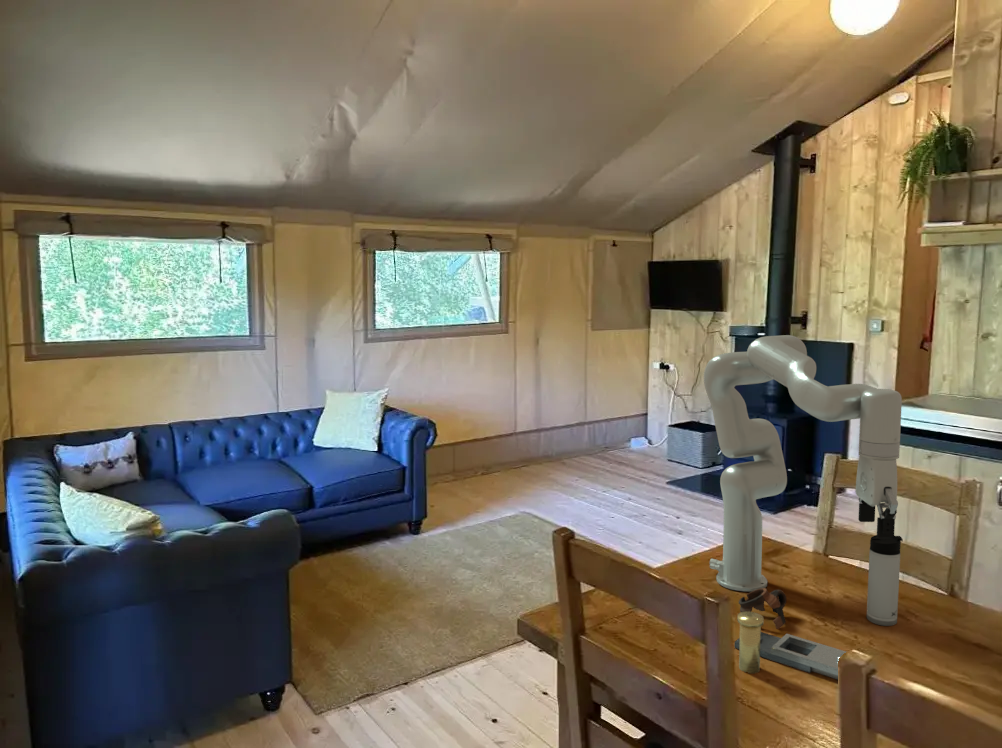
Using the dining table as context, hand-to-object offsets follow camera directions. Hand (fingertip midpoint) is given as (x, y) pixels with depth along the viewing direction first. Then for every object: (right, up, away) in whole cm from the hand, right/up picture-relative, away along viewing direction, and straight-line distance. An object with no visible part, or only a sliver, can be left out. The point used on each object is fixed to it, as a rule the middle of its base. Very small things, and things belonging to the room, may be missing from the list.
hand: (875, 528), depth 158 cm
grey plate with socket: (-17, -27, -1) cm, 32 cm away
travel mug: (+9, -24, +16) cm, 30 cm away
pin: (-28, -28, -4) cm, 39 cm away
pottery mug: (-17, -25, +17) cm, 35 cm away
